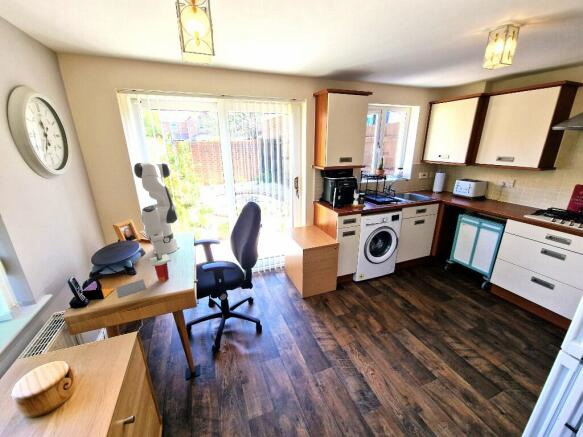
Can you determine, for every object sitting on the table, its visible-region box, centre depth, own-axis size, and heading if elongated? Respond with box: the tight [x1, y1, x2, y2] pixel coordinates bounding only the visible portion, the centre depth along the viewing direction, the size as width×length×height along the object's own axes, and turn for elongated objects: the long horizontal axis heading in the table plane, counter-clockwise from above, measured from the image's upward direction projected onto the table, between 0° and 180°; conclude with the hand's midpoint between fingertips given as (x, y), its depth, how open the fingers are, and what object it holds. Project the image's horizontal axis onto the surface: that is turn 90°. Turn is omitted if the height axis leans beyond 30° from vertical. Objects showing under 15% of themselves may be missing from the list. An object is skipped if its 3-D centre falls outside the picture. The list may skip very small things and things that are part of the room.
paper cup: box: [154, 262, 170, 283], centre depth 148 cm, size 8×8×14 cm
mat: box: [116, 278, 147, 299], centre depth 141 cm, size 14×14×1 cm
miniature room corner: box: [81, 281, 115, 301], centre depth 135 cm, size 12×12×7 cm
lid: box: [148, 254, 171, 267], centre depth 145 cm, size 10×10×4 cm
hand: (158, 255), depth 145 cm, fingers open, 8 cm apart
